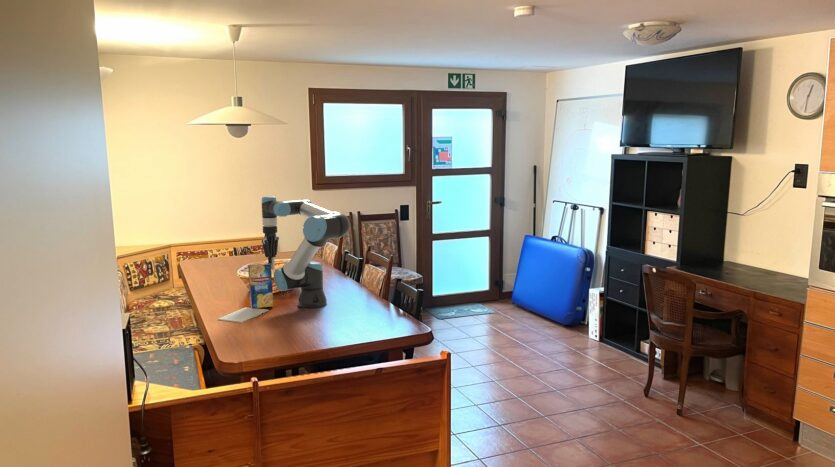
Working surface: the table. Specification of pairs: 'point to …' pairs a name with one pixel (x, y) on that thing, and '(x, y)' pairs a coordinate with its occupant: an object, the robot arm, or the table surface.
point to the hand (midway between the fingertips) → (271, 269)
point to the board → (243, 315)
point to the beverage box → (260, 285)
